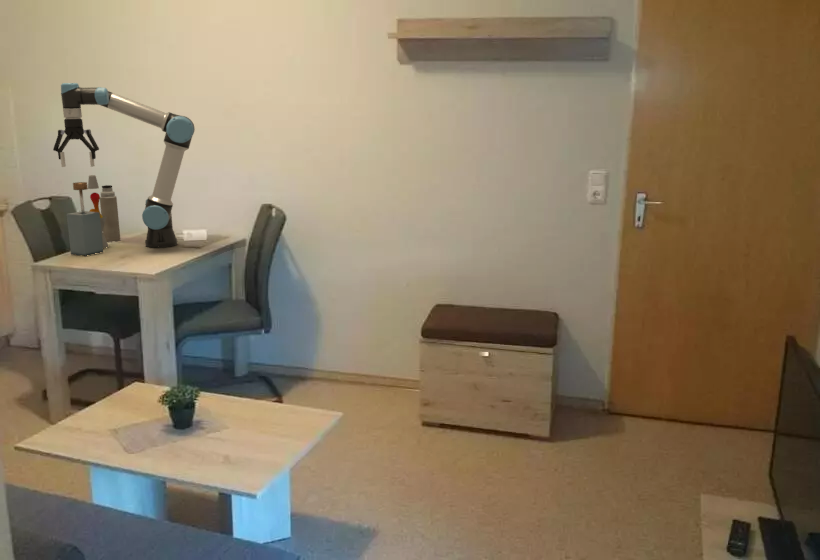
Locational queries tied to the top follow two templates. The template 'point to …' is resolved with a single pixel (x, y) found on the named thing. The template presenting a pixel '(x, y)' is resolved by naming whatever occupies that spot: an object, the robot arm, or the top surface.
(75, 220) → the grey utensil holder
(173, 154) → the robot arm
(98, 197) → the lava lamp
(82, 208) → the plunger
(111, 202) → the thermos bottle
